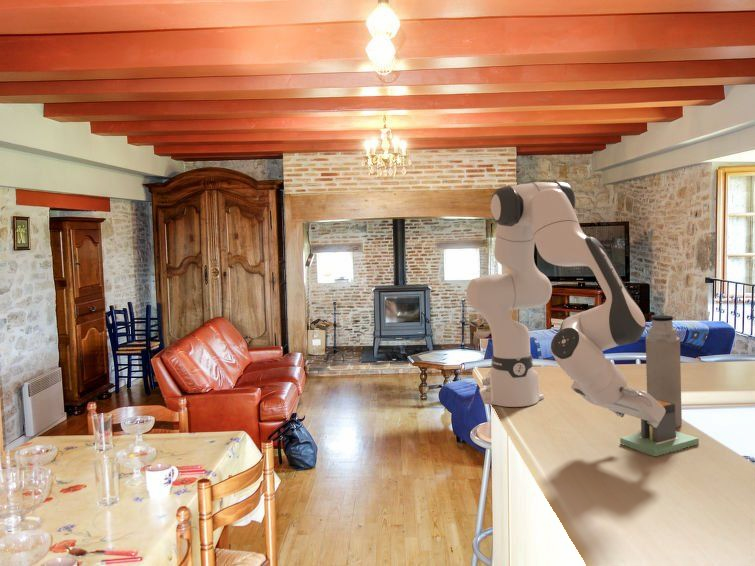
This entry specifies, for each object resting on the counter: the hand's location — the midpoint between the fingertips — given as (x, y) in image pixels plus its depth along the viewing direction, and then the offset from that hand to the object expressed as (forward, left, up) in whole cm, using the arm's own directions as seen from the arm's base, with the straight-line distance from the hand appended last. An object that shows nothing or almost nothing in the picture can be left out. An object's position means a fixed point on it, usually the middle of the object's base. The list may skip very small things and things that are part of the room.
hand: (638, 419), depth 139 cm
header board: (-2, +6, -7) cm, 10 cm away
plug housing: (-2, +6, -6) cm, 9 cm away
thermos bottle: (-15, +16, -7) cm, 23 cm away
